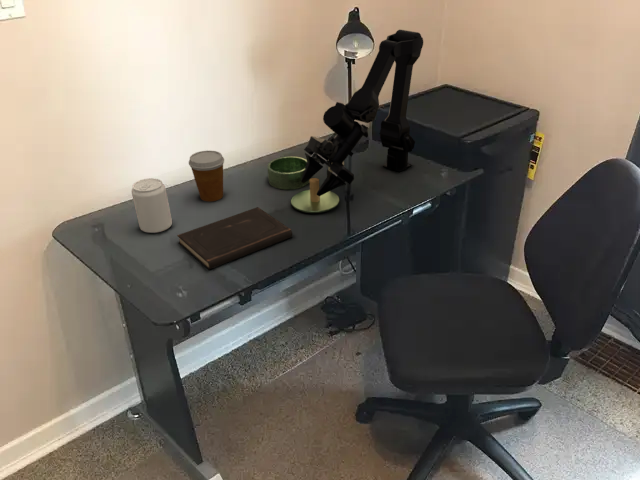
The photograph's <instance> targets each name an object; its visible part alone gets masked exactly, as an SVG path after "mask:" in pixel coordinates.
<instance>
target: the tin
mask: <svg viewBox="0 0 640 480" xmlns="http://www.w3.org/2000/svg"><path fill="white" fill-rule="evenodd" d="M306 163H307V159H306V158H303V157H300V156H280V157H277V158H274V159H272V160H271V161H269V162H268V163H267V165H266V167H267V178H268V183H269V185H270V186H271V187H273V188H275V189H278V190H287V191H288V190H289V191H290V190H298V189H302V188H304V187H306V186H307V185H310V182H309V180H310V179H311V178H310V179H309V180H308V181H306V182H305V183H302V182H301V179H302V176H303V173H304V170H305V167H306Z"/></svg>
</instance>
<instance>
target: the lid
mask: <svg viewBox="0 0 640 480" xmlns="http://www.w3.org/2000/svg"><path fill="white" fill-rule="evenodd" d="M319 188H320V179H319V178H317V177H311V178H310V180H309V189H306V190H302V191H300V192H297V193H295V194H294V195H293V196H292V198H291V200H290V204H291V206H292V208H294V210H296V211H298V212H299V211H300V212H302V213H306V214H307V213H308V214H320V213H326V212H329V211H332V210H334V209H335V208H337V206H339V204H340V197H339V195H338V194H336V193H335V192H333V191H332V190H331V191H329V192H327V193H325V194H323V195H321V196H318V195H317V192H318V190H319Z"/></svg>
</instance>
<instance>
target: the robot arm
mask: <svg viewBox="0 0 640 480" xmlns="http://www.w3.org/2000/svg"><path fill="white" fill-rule="evenodd" d="M423 47H424V38H423V37H422V34H421V33H420V32H417V31H411V30H405V29H398V30H397V31H395V33H392V34H389V35H387V37H386V39H384V40H381V41H380V43H379V45H378V51H377V54H376V55H375V58H374V61H373V62H372V64H371V67H370V69H369V71H368V74H367V76H366V77H365V80H364V82H363V84H362V85H361V87H360V88H358V90H356V91H355V92H354V93H353V94H352V96H351V97H350V99H349V101H348V102H347V103H343V102H339V101H336V103H335V105H332V106H331V107H329V108H327V109H326V111H324V113H323V115H322V121H323V123H324V124H325V126H327V127H328V128H329V129H330V130H331V131H332V132H333V133H334V134H335V136H334V137H333V136H329V137H328V139H324V138H321V137H318V136H313V135H310V137H309V140H308V143H307V145H306V146H305V147H304V149H303V151H304V155H305V159H306V160H307V163H306V167H305V170H304V173H303V176H302V179H301V182H302V183H305V182H306V181H308V180H309V179H311V178H313V176H315V175H317V173H318V172H320V171H321V170H322V169H323V168H324V166H323V165H326V166H327V167H328V166H329V167H330V170H331V171H333V172H330V171H329V170H328V169H326V178H325V179H324V181H323V182H322V184H321V185H320V186H319V190H318V192H317V195H318V196H321V195H323V194H325V193H327V192H329V191H331V192H332V190H335V189H337V188H339V187H341V186H346V185H347V184H348V185H351V184H352V183H353V181H354V180H355V174H354V173H353V172H352V171H350V170H349V169H348V168H347V167H346V166H345V164H344V165H343V164H342V163H343V162H344V163H345V160H346V159H347V158H348V156H350V157H352V156H353V155H354V152H353V149H354V148H355V147H356V145H357V144H358V143H359V141H360V140H361V139H362V137H365V139H366V138H368V137H369V127H368V126H367V125H365V124H369V123H372V122H373V121H374V120H375V118H376V117H377V115H378V110H379V108H380V99H379V96H380V94H381V92H382V89H383V87H384V86H385V83H386V80H387V78H388V76H389V74H390V72H391V70H392V68H393V66H394V75H393V81H392V88H391V95H390V97H391V98H390V104H389V105H390V106H389V112H388V115H387V117H386V118H385V119H384V120H382V121H381V122H380V130H379V139H380V141H381V147H383V148H387V154H386V163H384V164H383V165H382V166H383V168H385V169H389V170H391V171H395V172H397V173H400V172H402V171H405V170H407V169H408V168H410V167H412V163H409V153H411V152H413V150H414V149H415V144H416V141H415V139H414V138H413V137H412V136H411V133H410V131H411V130H410V129H411V126H410V123H409V120H408V118H407V111H408V104H409V98H410V90H411V82H412V75H413V68H414V65H415V64H416V62H417V61H418V60H419V58H420V57H421V53H422V49H423ZM394 63H395V65H394ZM360 122H362V124H360ZM363 123H365V124H363Z"/></svg>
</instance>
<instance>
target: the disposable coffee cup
mask: <svg viewBox="0 0 640 480" xmlns="http://www.w3.org/2000/svg"><path fill="white" fill-rule="evenodd" d="M224 163H225V158H224V156H223V154H222V153H221V152H220V151H217V150H201V151H197V152H195V153H193V154H191V155H190V156H189V160H188V165H189V167H190V168H191V171H192V175H193V178H194V182H195V185H196V187H197V191H198V195H199V197H200V200H202V201H204V202H216V201H219V200H221V199H222V198H223V197H224Z"/></svg>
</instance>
